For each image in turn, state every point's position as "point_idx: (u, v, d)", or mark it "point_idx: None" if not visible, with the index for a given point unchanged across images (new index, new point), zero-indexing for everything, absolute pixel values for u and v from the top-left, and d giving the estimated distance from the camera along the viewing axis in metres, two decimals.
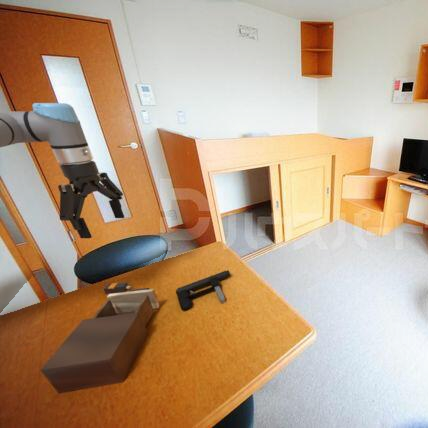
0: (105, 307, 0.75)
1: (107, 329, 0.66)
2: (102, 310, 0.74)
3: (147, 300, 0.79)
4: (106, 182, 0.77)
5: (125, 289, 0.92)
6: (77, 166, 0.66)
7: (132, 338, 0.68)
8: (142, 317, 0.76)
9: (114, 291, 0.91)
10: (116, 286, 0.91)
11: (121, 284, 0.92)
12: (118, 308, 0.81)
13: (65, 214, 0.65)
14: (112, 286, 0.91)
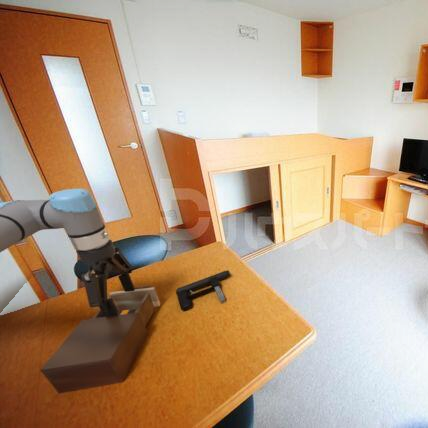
0: None
1: (107, 329, 0.66)
2: None
3: (148, 298, 0.80)
4: (118, 256, 0.75)
5: None
6: (98, 250, 0.64)
7: (132, 338, 0.68)
8: (143, 315, 0.76)
9: None
10: None
11: (134, 311, 0.78)
12: (120, 306, 0.82)
13: (95, 301, 0.64)
14: None
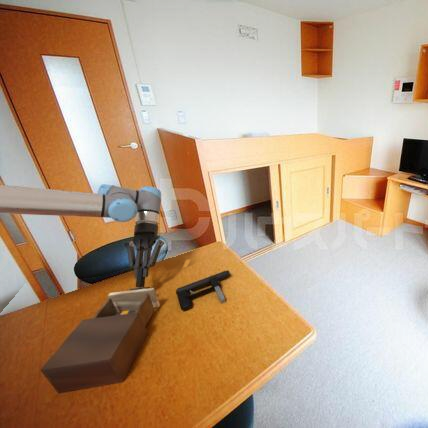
0: (106, 306, 0.76)
1: (107, 329, 0.66)
2: (103, 309, 0.74)
3: (148, 298, 0.80)
4: (133, 250, 0.90)
5: None
6: None
7: (132, 338, 0.68)
8: (143, 316, 0.76)
9: None
10: None
11: (133, 312, 0.78)
12: (119, 307, 0.82)
13: (154, 261, 0.89)
14: None
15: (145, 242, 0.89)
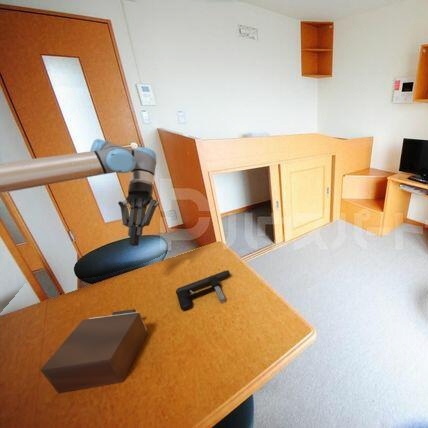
0: None
1: (107, 329, 0.66)
2: None
3: None
4: (127, 209, 0.89)
5: None
6: None
7: (132, 338, 0.68)
8: None
9: None
10: None
11: None
12: None
13: (149, 221, 0.88)
14: None
15: (139, 201, 0.88)
